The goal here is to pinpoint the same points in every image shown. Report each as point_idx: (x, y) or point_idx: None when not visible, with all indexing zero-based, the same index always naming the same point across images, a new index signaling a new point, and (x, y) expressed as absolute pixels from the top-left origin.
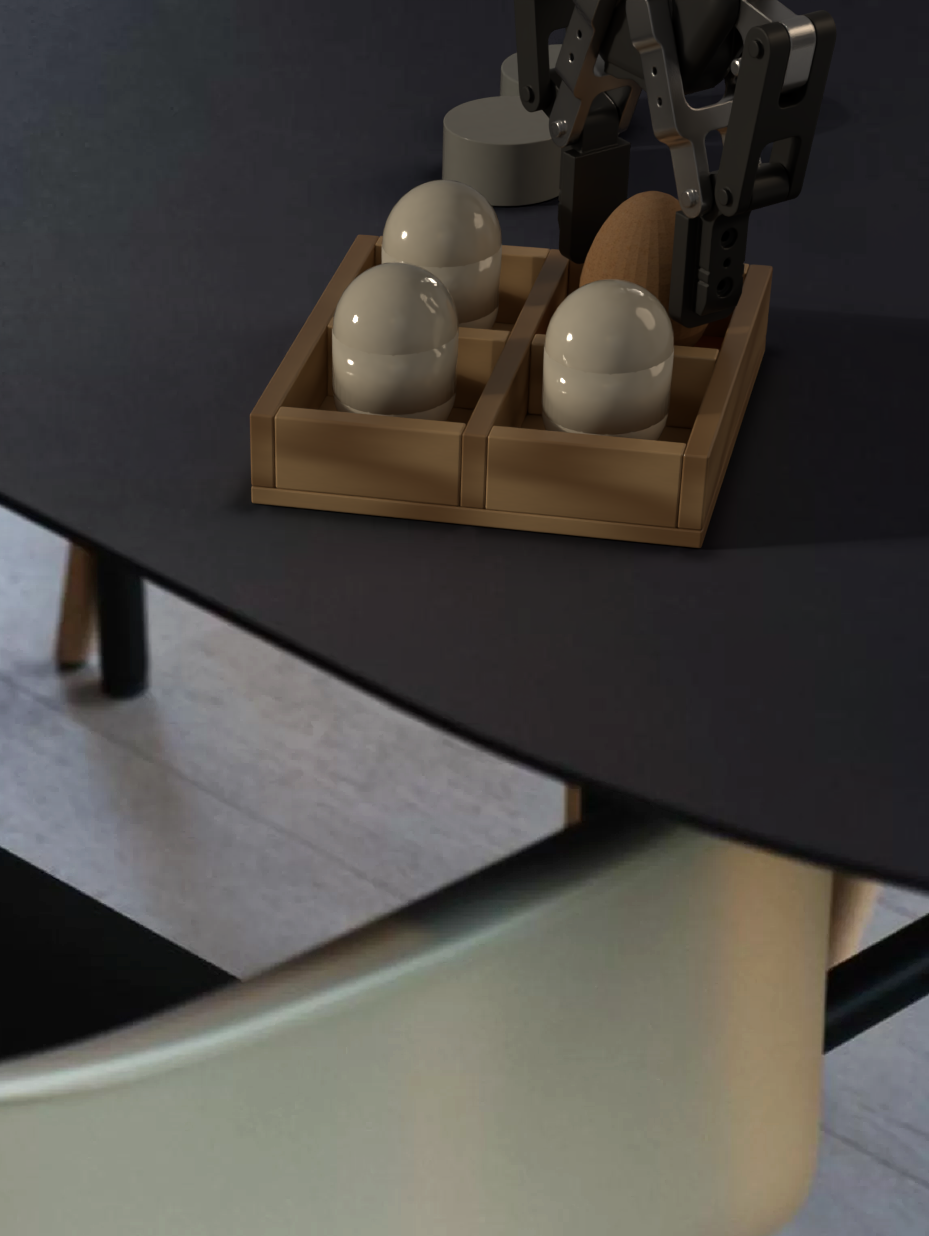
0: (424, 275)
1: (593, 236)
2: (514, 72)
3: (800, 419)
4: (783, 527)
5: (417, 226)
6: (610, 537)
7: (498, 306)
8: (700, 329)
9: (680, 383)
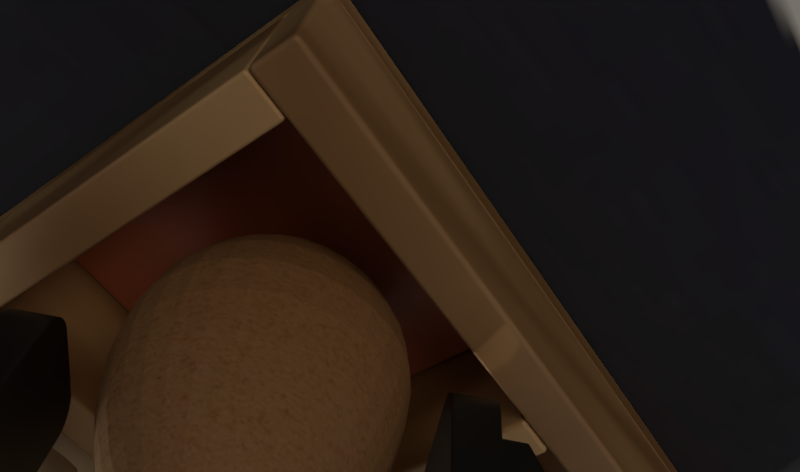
0: None
1: (42, 411)
2: None
3: (588, 156)
4: (775, 424)
5: None
6: None
7: (67, 457)
8: (405, 344)
9: None
